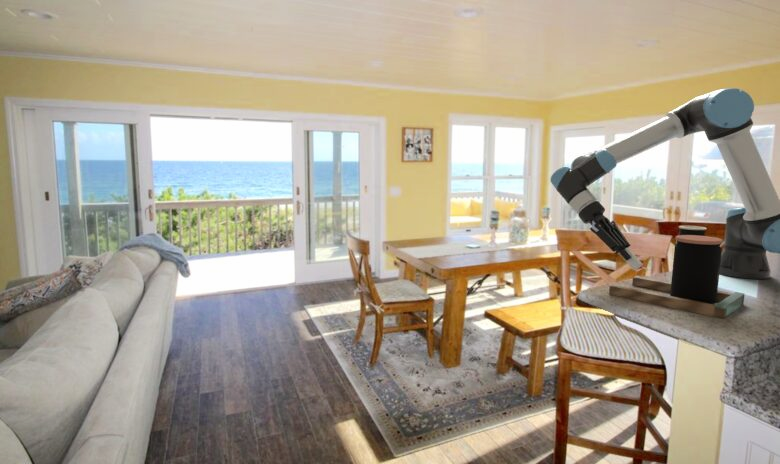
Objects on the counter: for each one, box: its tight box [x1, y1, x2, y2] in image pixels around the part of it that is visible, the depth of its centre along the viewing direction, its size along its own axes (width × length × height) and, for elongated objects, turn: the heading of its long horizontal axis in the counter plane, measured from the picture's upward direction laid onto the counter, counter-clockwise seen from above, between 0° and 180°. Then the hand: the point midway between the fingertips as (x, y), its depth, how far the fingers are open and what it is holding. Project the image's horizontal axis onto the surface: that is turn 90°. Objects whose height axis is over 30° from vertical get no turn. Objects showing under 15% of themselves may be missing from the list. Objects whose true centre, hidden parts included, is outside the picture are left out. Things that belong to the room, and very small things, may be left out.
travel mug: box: [675, 225, 708, 244], centre depth 145 cm, size 8×8×18 cm
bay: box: [608, 275, 746, 319], centre depth 127 cm, size 28×18×3 cm, turn 40°
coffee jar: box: [669, 234, 724, 305], centre depth 123 cm, size 11×11×18 cm
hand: (638, 267), depth 134 cm, fingers closed
